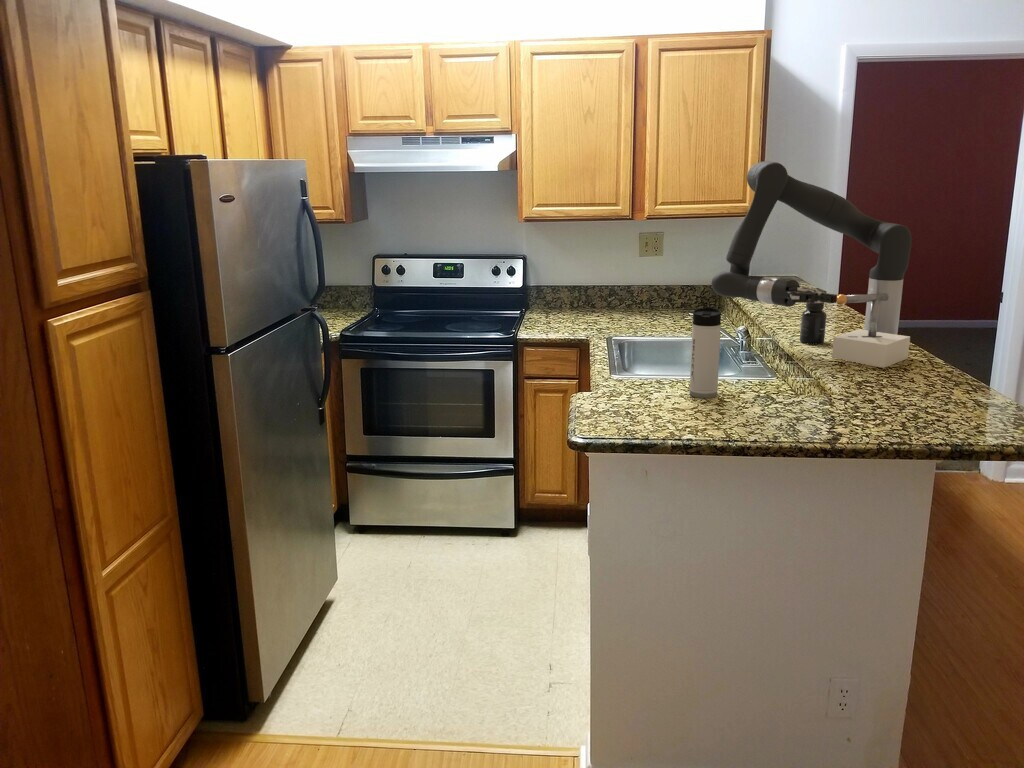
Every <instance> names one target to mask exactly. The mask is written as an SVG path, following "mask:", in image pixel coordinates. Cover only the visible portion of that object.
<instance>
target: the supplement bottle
mask: <svg viewBox="0 0 1024 768" xmlns="http://www.w3.org/2000/svg"><path fill="white" fill-rule="evenodd" d="M824 306H825V302H819V303H817V302H815V303H805V310H804V311H802V313H801V321H800V332H799V342H800V341H801V342H800V343H802V342H803V343H802V344H805V343H808V344H807V345H822V344H824V343H825V337H826V329H827V328H826V327H827V315H828V314H827V313H826V312H825V311H824V309H825V307H824Z"/></svg>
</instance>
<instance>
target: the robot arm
mask: <svg viewBox="0 0 1024 768" xmlns="http://www.w3.org/2000/svg"><path fill="white" fill-rule="evenodd" d="M746 181H747V184H748V186H749V188H750V189H751V191H752V192H754V193H753V198H752V202H751V204H750V206H749V208H748V211H747V213H746V214H745V216H744V217H743V219H742V221H741V222H740V224H739V226H738V227H737V229H736V231H735V232H734V234H733V237H732V238H731V239H732V240H731V243H730V245H729V248H728V251H727V254H726V257H725V259H726V261H727V262H728V264H730V269H729V271H721V272H718V273H716V274H715V275H714V276H713V278H712V279H711V283H710V285H711V288H712V290H713V292H714V293H715V294H716V295H718V296H722V297H727V298H731V299H736V298H740V299H745V300H749V301H753V302H760V303H764V304H767V305H774V306H781V307H787V308H791V307H793V306H795V304H796V303H803V304H804V303H805V304H806V303H815V302H817V303H819V302H824V304H825V303H827V304H837V303H836V297H837V296H838V294H837V293H836V294H834V293H828V292H827V290H823V289H821V288H819V287H815V288H810V287H809V286H802V287H801V286H800V283H799V282H798V281H797V280H796V279H792V278H785V277H775V276H760V275H750V267H751V261H752V259H753V256H754V254H755V251H756V249H757V245H758V243H759V240H760V237H761V236H762V232H763V230H764V227H765V226H766V224H767V222H768V219H769V217H770V215H771V214H772V212H773V209H774V207H775V206H776V204H777V202H781V203H783V204H785V205H787V206H788V207H790V208H791V209H793V210H794V211H795V212H798V213H799V214H801V215H803V216H804V217H806V218H807V219H810V220H812V221H814V222H815V223H818V224H819V225H821V226H824V227H826V228H827V229H830V230H831V231H835V232H838V233H839V234H843V235H845V236H848V237H851V238H853V239H855V240H856V241H858V243H861V244H863V245H864V246H865V247H867V248H868V249H870V250H871V251H873V252H874V253H876V254H878V257H877V263H876V265H875V266H874V267H871V268H870V270H869V276H868V277H869V278H868V288H867V294H881V293H887V294H888V296H889V298H888V300H887V301H880V303H879V313H878V323H877V332H881V333H889V334H896V335H898V331H899V321H900V313H901V305H902V296H903V285H904V278H905V273H906V271H907V269H908V267H909V262H910V256H911V249H912V241H913V239H912V232H911V231H910V229H909V228H908V227H907V226H906V225H903V224H898V223H892V222H885V221H882V220H879V219H876V218H874V217H871V216H869V215H867V214H865V213H863V212H862V211H861V210H859V209H858V207H856V206H855V205H854V204H853V203H852V202H851V201H850V200H848V199H846V198H845V197H843V196H841V195H839V194H837V193H835V192H833V191H830V190H829V189H826V188H823V187H821V186H818V185H815V184H811V183H807V182H804V181H801V180H798V179H796V178H794V177H793V176H791V175H789V174H788V171H787V168H786V167H785V166H784V165H783V164H781V163H779V162H776V161H769V160H768V161H767V160H766V161H759V162H757V163H754V164H753V165H752V166H751V167H750V168H749V169H748V170H747V175H746ZM870 310H871V302H866V308H865V315H864V316H865V318H864V327H863V330H867V331H868V330H869V320H870Z"/></svg>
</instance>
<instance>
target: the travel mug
mask: <svg viewBox="0 0 1024 768" xmlns="http://www.w3.org/2000/svg"><path fill="white" fill-rule="evenodd" d="M721 320H722V311H721V310H720V309H717V308H714V307H713V306H704V307H702V308H701V307H700V308H696V309H695V310H693V311H692V323H691V324H692V327H691V328H692V329H691V349H690V350H691V351H690V352H691V353H690V373H689V375H690V377H689V394H690V396H692V397H694V398H698V399H712V398H715V397H717V395H718V389H719V387H718V386H719V369H720V349H721V329H722V326H721V325H722V324H721Z"/></svg>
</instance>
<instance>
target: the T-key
mask: <svg viewBox="0 0 1024 768" xmlns="http://www.w3.org/2000/svg"><path fill="white" fill-rule="evenodd" d="M888 298H889V296H888V294H887V293H881V294H868V293H867V294H851V295H850V294H847V295H845V294H843V293H841V294H837V297H836V303H835V304H837V305H839V306H843V305H845V304H856V303H867V302H871V310H870V320H869V330H868V336H876V332H877V323H878V313H879V303H880V301H887V300H888Z"/></svg>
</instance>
